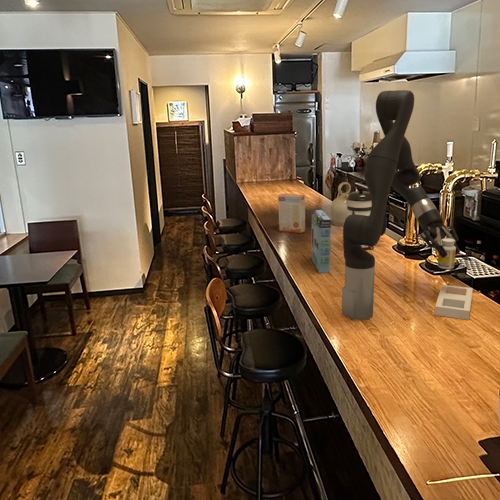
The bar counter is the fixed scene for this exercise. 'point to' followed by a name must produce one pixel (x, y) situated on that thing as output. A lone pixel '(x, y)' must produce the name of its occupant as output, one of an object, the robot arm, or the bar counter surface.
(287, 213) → the cracker box
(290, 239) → the bar counter surface
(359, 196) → the coffee press
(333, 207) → the jug
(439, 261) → the supplement bottle
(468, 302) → the bottle caddy
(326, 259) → the gum box
